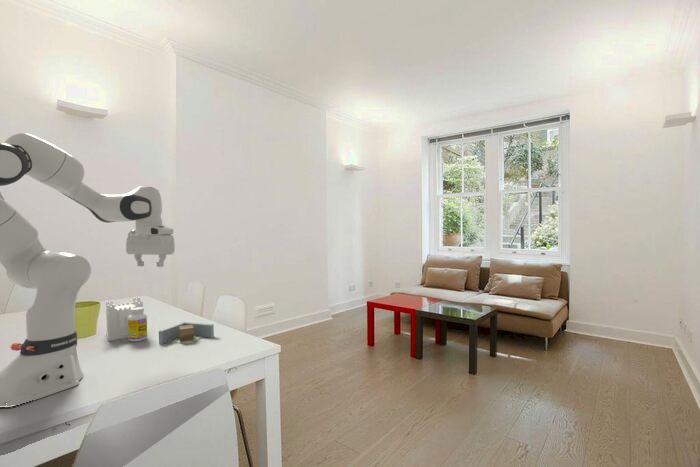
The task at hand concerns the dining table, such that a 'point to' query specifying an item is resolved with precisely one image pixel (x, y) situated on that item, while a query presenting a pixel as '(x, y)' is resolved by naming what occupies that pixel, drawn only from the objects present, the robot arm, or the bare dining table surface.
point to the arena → (173, 333)
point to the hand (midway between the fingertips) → (150, 266)
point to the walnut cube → (186, 333)
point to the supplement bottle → (137, 325)
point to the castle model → (119, 318)
